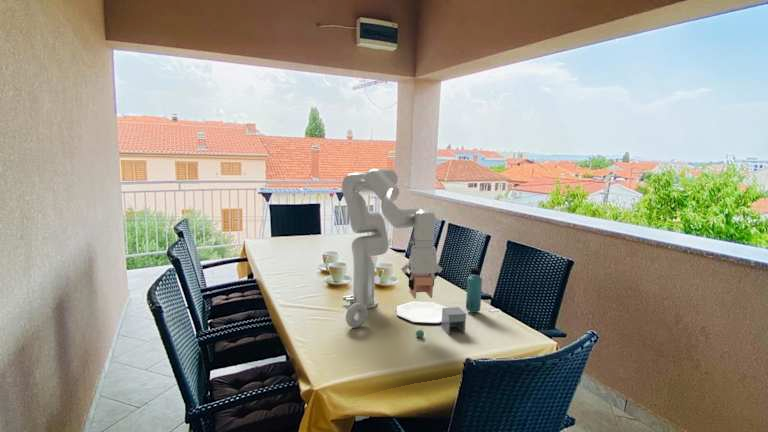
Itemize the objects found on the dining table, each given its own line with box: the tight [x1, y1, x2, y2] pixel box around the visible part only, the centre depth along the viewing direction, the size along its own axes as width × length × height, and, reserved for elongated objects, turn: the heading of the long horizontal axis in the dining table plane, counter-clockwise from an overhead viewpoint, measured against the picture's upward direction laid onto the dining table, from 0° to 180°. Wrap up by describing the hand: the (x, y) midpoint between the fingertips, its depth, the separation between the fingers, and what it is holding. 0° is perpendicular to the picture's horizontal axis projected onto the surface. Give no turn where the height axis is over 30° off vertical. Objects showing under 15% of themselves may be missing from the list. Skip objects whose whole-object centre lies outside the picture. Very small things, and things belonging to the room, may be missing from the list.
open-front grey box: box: [441, 306, 467, 336], centre depth 157 cm, size 7×7×8 cm
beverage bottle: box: [465, 267, 483, 313], centre depth 175 cm, size 6×7×20 cm
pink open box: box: [409, 274, 434, 299], centre depth 153 cm, size 7×7×8 cm
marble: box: [415, 329, 425, 339], centre depth 150 cm, size 3×3×3 cm
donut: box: [345, 303, 368, 329], centre depth 157 cm, size 10×4×10 cm, turn 132°
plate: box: [396, 301, 448, 325], centre depth 173 cm, size 24×24×2 cm
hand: (421, 288), depth 154 cm, fingers closed on pink open box, 7 cm apart
